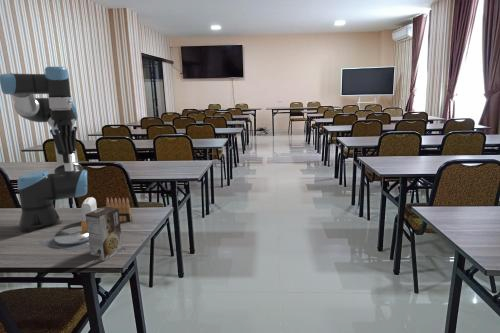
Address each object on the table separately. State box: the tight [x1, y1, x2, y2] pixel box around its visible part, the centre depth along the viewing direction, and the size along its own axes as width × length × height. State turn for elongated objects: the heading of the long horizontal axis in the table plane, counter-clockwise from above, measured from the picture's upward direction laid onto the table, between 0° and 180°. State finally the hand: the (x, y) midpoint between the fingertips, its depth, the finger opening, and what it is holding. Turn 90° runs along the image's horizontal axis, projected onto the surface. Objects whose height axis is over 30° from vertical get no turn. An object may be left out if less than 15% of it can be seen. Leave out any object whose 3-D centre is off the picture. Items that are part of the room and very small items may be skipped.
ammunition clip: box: [106, 196, 133, 224], centre depth 148 cm, size 11×2×12 cm, turn 85°
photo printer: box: [80, 196, 98, 221], centre depth 146 cm, size 10×4×12 cm, turn 11°
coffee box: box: [86, 205, 124, 262], centre depth 119 cm, size 9×6×16 cm
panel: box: [38, 237, 90, 252], centre depth 131 cm, size 18×17×2 cm
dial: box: [53, 220, 89, 246], centre depth 130 cm, size 14×14×6 cm
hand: (69, 170), depth 133 cm, fingers closed
